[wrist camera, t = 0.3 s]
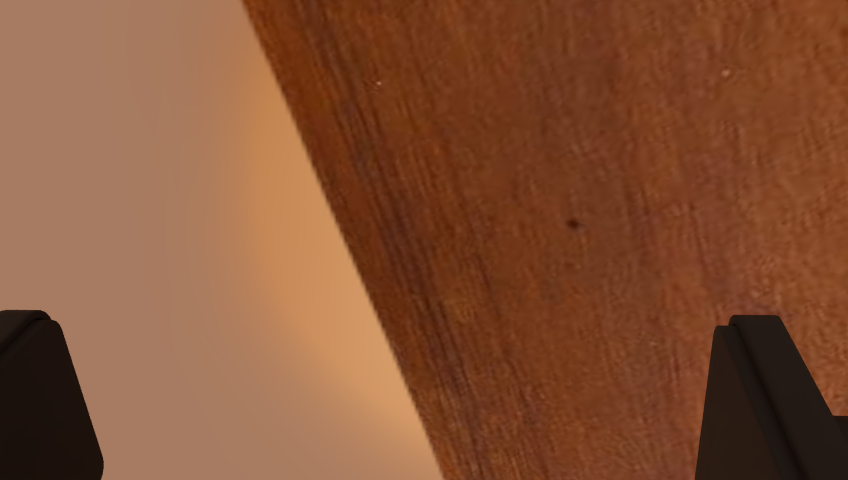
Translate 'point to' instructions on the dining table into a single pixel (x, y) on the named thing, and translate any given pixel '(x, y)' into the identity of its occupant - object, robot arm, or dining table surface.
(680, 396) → the dining table surface
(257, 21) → the dining table surface
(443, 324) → the dining table surface
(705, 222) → the dining table surface
